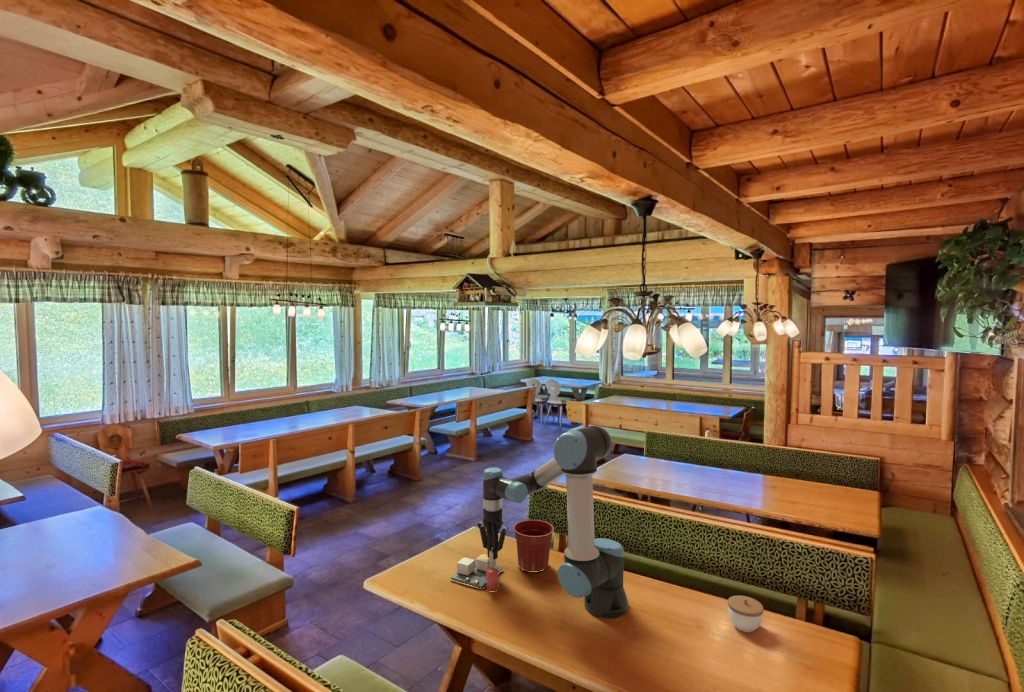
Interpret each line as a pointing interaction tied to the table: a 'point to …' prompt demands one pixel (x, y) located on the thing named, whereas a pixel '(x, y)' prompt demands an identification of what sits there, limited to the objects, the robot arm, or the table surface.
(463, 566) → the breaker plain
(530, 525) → the flower pot
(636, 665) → the table surface
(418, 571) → the table surface
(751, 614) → the lidded jar
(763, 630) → the table surface
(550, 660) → the table surface
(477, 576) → the panel
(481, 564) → the block
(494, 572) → the lockout cap
